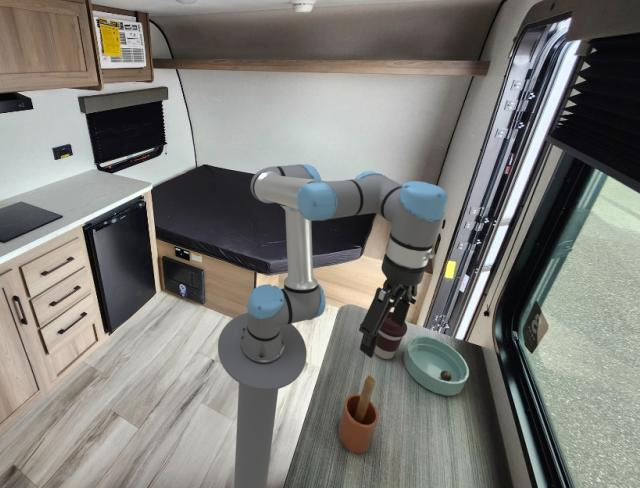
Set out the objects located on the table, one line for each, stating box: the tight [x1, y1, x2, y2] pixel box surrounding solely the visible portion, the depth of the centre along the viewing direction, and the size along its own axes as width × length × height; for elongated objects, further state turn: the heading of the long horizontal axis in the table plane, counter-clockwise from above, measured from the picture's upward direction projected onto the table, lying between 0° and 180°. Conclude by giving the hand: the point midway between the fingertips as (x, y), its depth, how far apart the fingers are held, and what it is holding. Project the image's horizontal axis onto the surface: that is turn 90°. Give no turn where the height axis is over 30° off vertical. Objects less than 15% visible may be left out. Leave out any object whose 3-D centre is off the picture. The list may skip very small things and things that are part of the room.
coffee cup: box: [374, 311, 408, 360], centre depth 106 cm, size 10×10×15 cm
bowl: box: [403, 335, 470, 397], centre depth 101 cm, size 17×17×6 cm
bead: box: [440, 371, 452, 382], centre depth 99 cm, size 3×3×3 cm
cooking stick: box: [354, 375, 377, 424], centre depth 79 cm, size 2×2×22 cm
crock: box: [337, 393, 379, 454], centre depth 82 cm, size 8×8×11 cm
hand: (382, 337), depth 70 cm, fingers open, 13 cm apart
